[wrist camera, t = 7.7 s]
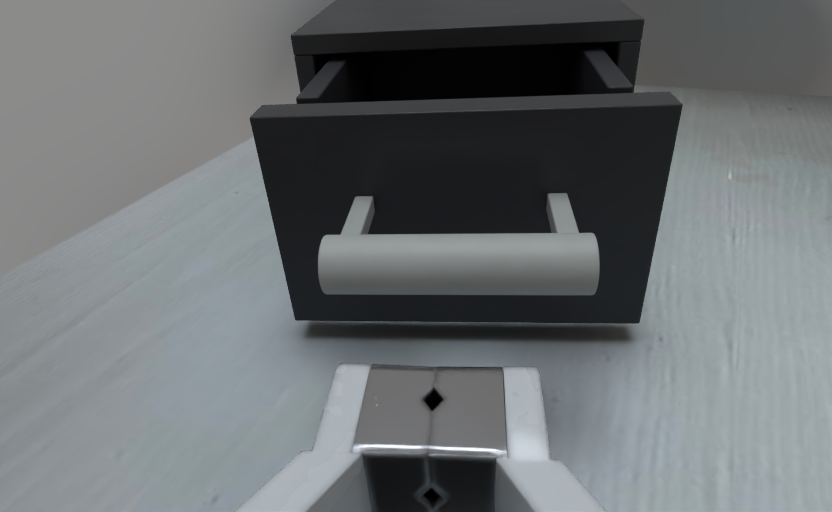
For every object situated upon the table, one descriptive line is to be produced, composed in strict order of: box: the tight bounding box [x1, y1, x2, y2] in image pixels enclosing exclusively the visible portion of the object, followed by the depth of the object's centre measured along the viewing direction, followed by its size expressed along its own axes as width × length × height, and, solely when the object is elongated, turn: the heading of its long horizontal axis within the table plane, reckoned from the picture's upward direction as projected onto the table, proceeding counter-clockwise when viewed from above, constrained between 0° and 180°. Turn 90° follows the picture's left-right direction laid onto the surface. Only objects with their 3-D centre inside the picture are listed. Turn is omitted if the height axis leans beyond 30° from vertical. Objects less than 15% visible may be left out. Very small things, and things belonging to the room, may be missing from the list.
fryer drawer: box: [250, 42, 682, 323], centre depth 22 cm, size 18×12×8 cm
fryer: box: [291, 0, 644, 92], centre depth 30 cm, size 15×14×10 cm
